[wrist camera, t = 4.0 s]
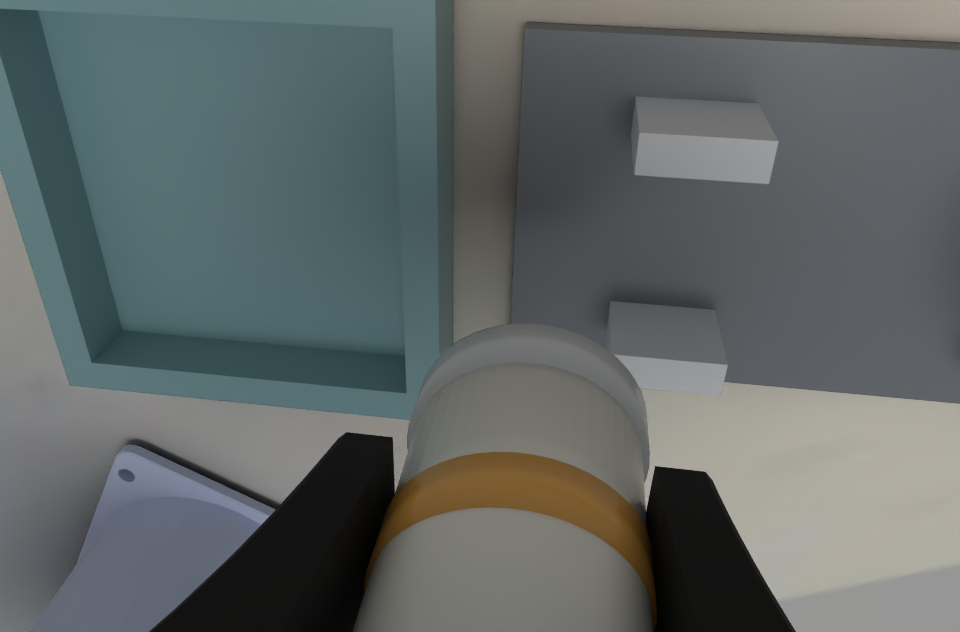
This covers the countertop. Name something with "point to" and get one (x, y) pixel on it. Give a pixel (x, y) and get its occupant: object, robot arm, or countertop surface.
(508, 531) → the marked fuse
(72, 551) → the countertop surface
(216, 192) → the tray
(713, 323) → the fuse board
